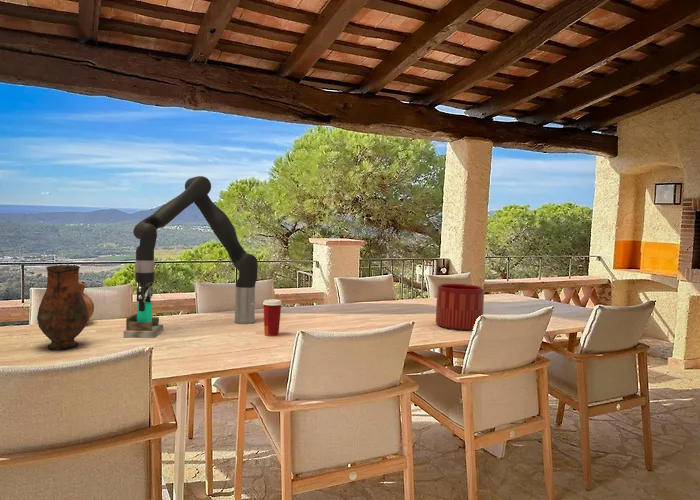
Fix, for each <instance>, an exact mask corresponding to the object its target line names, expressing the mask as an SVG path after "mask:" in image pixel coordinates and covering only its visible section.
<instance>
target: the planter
mask: <svg viewBox="0 0 700 500" xmlns="http://www.w3.org/2000/svg"><path fill="white" fill-rule="evenodd" d="M484 300H485V287H482V286H480V285H473V284H467V283H466V284H465V283H439V284H438V285H437V289H436V304H435V305H436V307H435V324H436V325H437V326H439V327H440V326H441V327H440V328H443V327H444V328H443V329H446V328H449V329H448V330H451V329H457V330H456V331H460V330H472V329H473V326H474V324H475V321H476V319H477V318H478V317H479V316H481V315H483V316H484V306H485V305H484V304H485V301H484ZM472 331H473V330H472Z"/></svg>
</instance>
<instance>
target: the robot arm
mask: <svg viewBox="0 0 700 500" xmlns="http://www.w3.org/2000/svg"><path fill="white" fill-rule="evenodd" d="M184 189H185V190H184V191H183V192H181V193H180V194H178V195H176V197H174V198H172V199H171V200H169V201H168V202H166V203H165V204H163V205H162V206H160V208H158V209H157V210H156V211H154V212H153V214H151V215H149V216H148V217H145V218H144V219H142V220H140V221H139V222H138V223H137V224H136V225H135V226H134V228H133V231H132V232H133V236H134V237H135V238H136V239H138V240H139V245H138V246H137V247H136V249H135V263H134V264H135V267H134V269H135V270H134V271H135V272H134V275H135V277H134V282H135V283H137V284H139V286H137V287H136V302H137V303H139V311H145V302H150V303H152V302H151V299H152V297H153V295H154V293H153V283H154V282H155V281H156V280H155V279H156V277H155V275H156V274H155V270H156V269H155V267H156V266H155V247H156V242H157V237H158V230H159V229H160V228H164V227H165V226H166V225H168V224H169V223H171V222H172V221H173V220H174V219H175V218H177V216H179V215H180V214H181V213H182V212H183V211H184V210H186V209H187V208H188V207H189V206H191V205H192V204H195V206H196V207H197V209H199V211H200V213H201V214H202V216H203V218H205V220H206V222H207V223H208V226H209V227H210V229H211V231H213V234H214V235H215V237H216V238H217V239H218V241H219V242H220V244H221V245H222V247H223V248H224V249H225V251H226V252H227V254H228V256H229V258H230V260H231V262H232V264H233V266H234V268H235V269H236V270H237V271H239V272H238V277H237V278H238V279H236V280H235V290H234V292H235V295H234V296H235V297H234V301H235V303H234V304H235V305H234V323H236V324H243V325H244V324H255V318H256V317H255V316H256V301H255V300H256V282H257V280H258V269H259V268H258V266H259V263H258V260H257V259H258V258H257V257H256V256H255V255H254V254H251V253H248V252H246V251H245V249H244V248H243V246H242V245H241V244H240V242H239V239H238V236H237V235H238V234H237V232H236V229H235V227H234V224H233V223H232V222H231V219H230V218H229V216H228V215H227V214H226V213H225V212H224V211H223V210H222V209H221V208H220V207H218V206H217V205H216V204H215V202H213V201H212V199H211V198H210V196H209V195H208V194H210V192H211V190H212V183H211V181H210V180H209V178H208V177H206V176H203V175H202V176H201V175H199V176H198V175H197V176H193V177H191V178H189V179H187V180H186V181H185V183H184Z"/></svg>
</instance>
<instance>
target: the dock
mask: <svg viewBox="0 0 700 500" xmlns="http://www.w3.org/2000/svg"><path fill="white" fill-rule="evenodd" d="M125 322H126V323H125V325H126V326H125V329H124V331H123V338H125V339H127V338H130V339H131V338H132V339H134V338H137V339H138V338H140V339H141V338H143V339H144V338H145V339H155V338H156V337H157V336H158V335H159V334H161V333H162V332H163V331H164V324H160V318H159V316H157V317H156V316H152V322H137V313H134V314H132V315H130V316H128V317H127V318H126V319H125Z"/></svg>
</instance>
